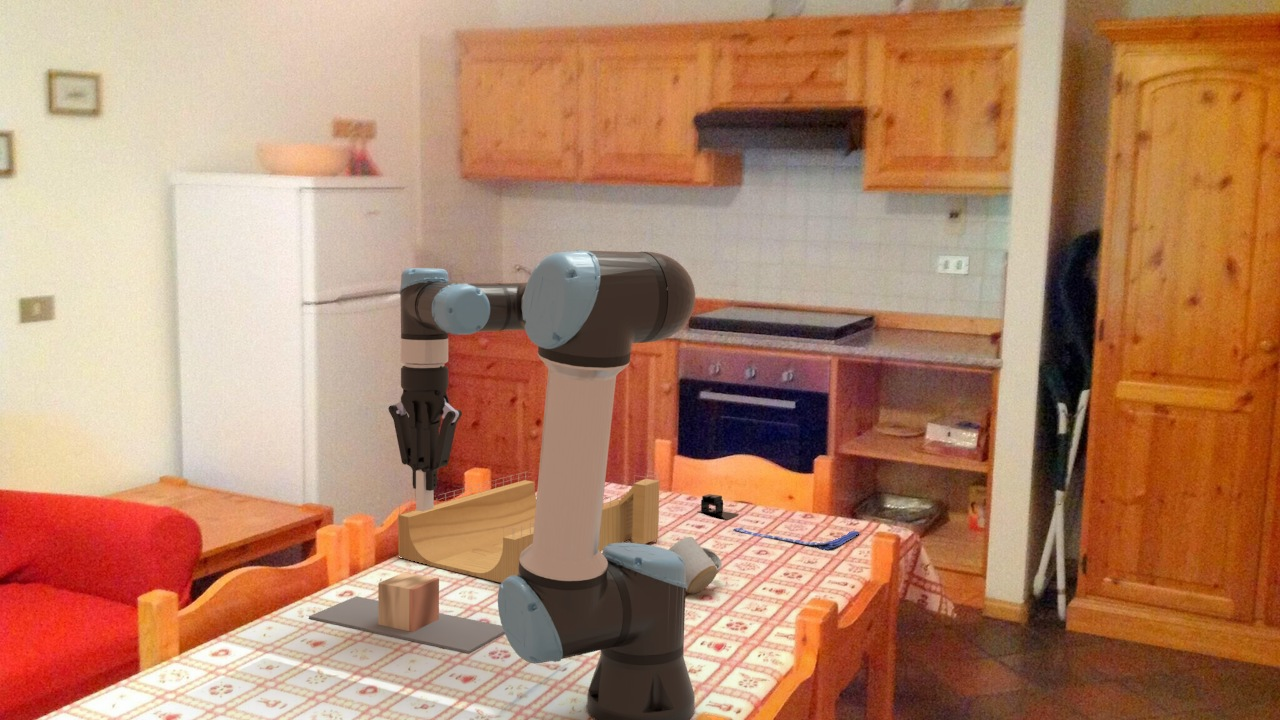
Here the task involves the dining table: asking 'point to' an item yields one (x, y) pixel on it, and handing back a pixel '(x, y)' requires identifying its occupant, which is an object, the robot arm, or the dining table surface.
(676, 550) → the ceramic mug
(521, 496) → the skate ramp
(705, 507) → the black boxy piece
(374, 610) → the slate mat
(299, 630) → the dining table surface
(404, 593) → the wooden cube
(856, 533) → the dish towel
